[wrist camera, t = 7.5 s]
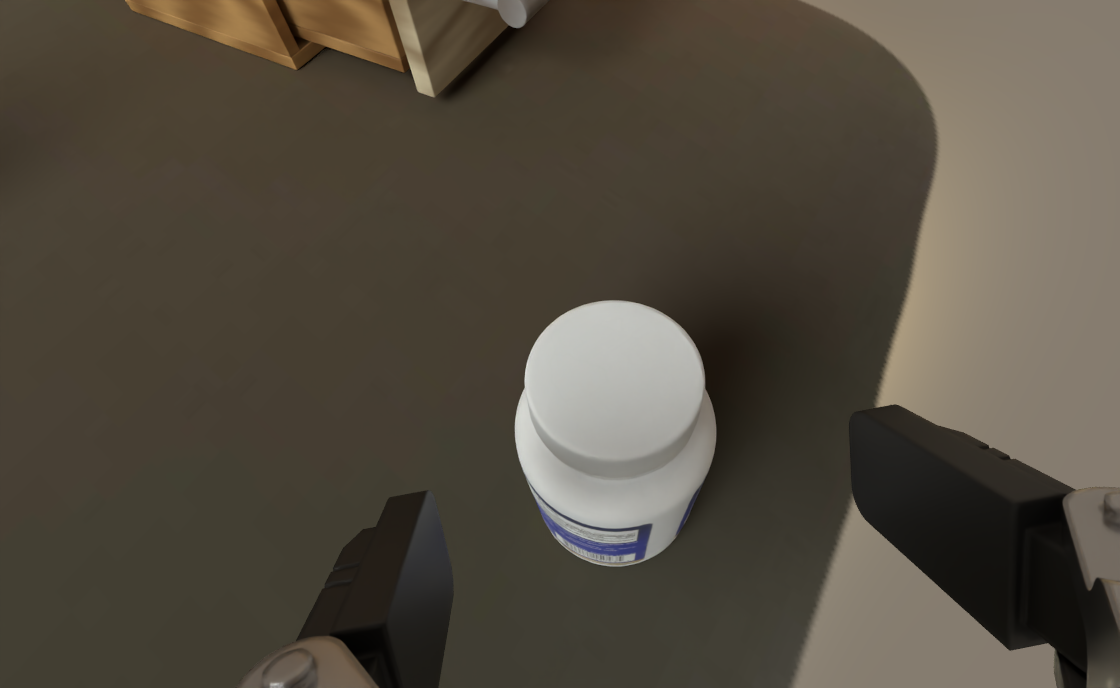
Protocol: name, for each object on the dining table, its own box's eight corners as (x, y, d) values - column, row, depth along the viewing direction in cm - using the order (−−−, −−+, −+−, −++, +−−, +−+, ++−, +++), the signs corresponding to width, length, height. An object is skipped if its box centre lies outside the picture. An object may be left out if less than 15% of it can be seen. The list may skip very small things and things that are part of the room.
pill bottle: (624, 394, 22) (633, 240, 14) (721, 504, 20) (793, 390, 12) (508, 476, 21) (451, 354, 13) (598, 604, 18) (592, 547, 11)
